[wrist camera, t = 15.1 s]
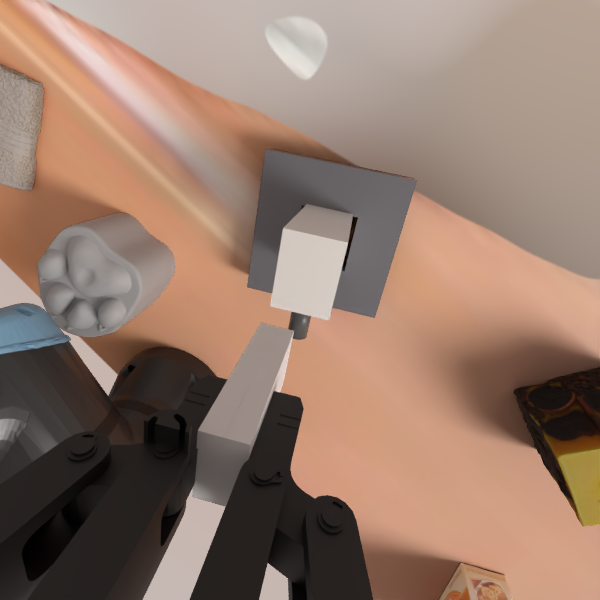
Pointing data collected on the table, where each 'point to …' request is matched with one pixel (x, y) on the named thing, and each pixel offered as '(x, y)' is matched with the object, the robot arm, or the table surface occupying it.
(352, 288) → the socket
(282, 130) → the table surface
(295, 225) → the plug
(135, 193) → the table surface
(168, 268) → the lumpy-topped squat cylinder
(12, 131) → the washcloth
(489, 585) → the coffeecake box
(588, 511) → the candle
